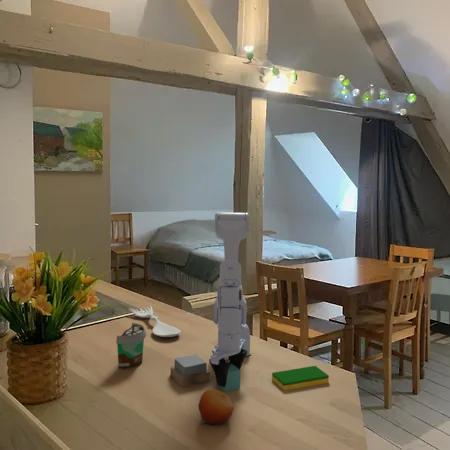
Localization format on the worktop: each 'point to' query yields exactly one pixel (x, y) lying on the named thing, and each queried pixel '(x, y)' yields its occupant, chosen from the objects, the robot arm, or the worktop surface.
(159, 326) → the spoon
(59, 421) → the worktop surface
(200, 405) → the fruit
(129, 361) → the food container
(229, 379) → the teal block
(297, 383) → the dish sponge
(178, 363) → the gray block
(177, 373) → the walnut slab
